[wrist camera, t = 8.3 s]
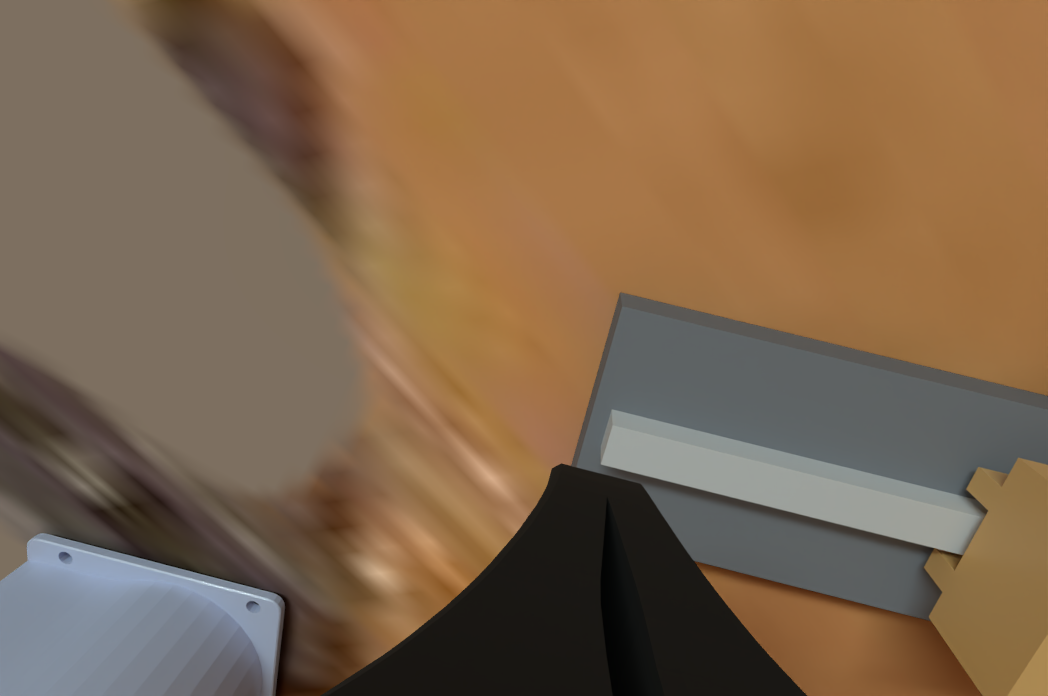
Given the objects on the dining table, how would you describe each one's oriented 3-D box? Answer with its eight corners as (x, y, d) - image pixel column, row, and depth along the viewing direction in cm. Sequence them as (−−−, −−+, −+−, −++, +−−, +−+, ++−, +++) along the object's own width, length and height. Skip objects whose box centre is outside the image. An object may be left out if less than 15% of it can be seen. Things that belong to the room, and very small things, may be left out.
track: (561, 499, 20) (551, 610, 15) (620, 292, 18) (628, 349, 13) (1058, 624, 20) (1203, 779, 15) (1186, 429, 17) (1407, 541, 13)
